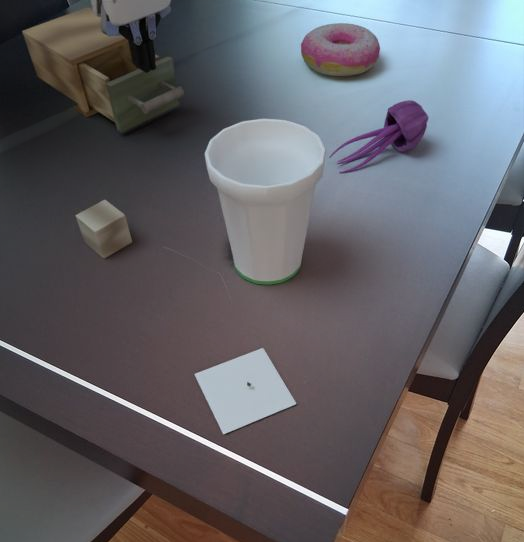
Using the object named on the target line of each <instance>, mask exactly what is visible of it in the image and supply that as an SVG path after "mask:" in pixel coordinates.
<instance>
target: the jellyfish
mask: <svg viewBox="0 0 524 542" xmlns="http://www.w3.org/2000/svg"><path fill="white" fill-rule="evenodd" d="M428 120H429V115H428V114H427V112H426V111H425V110H424V108H423V106H422V105H421V104H419V103H418V102H416V101H415V100H412V99H411V100H409V99H407V100H403V101H399V102H396V103H394V104H392V106H390V107H388V108H387V112H386V116H385V119H384V123H383V127H381V128H378V129H375V130H372V131H370V132H365V133H364V134H361V135H358V136H355V137H353V138H351V139H349V140H347V141H346V142H344V143H343V144H342V145H340V146H339V147H337V148H336V149H335V150H334V151H333V152H332V153H331V154H330V156H329V157H328V158H329V159H331V158H332V157H333V156H334V155H335V154H336V153H337V152H338V151H340V150H341V149H343V148H344V147H346V146H348V145H350V144H352V143H355V142H359V141H362V140H365V139H369V138H371V139H370V140H369V141H368V142H366V144H364V145H363V146H362V147H360V148H359V149H358V150H356V151H354V152H353V153H351V154H350V155H348V156H345V157H344V158H341V159H339V160H337V163H336V165H342V164H345V163H349V162H352V161H355V160H357V159H359V158H362V157H364V156H366V155H368V154H370V153H371V152H373V151H374V152H373V153H371V154H370V155H369V156H368V157H367V158H366V159H364V160H363V161H362V162H360V163H359V164H357V165H355V166H353V167H351V168H349V169H345V170H342V171H338V174H342V173H343V174H344V173H349V172H353V171H355V170H358V169H360V168H362V167H363V166H365V165H366V164H368V163H370V162H371V161H373V160H374V159H375V158H376V157H378V155H380V154H382V152H383V151H385V149H387V148H388V147H389V146H390V145H391V146H393V147H394V149H395V150H396V151H397V152H406V151H407V152H408V151H410V150H413V149H414V148H415V147H417V146H418V145H419V143H420V142H421V140H422V139H423V137H424V135H425V133H426V131H427V128H428Z"/></svg>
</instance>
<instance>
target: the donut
mask: <svg viewBox="0 0 524 542" xmlns="http://www.w3.org/2000/svg"><path fill="white" fill-rule="evenodd" d="M380 53H381V45H380V42H379V39H378V37H377V36H376V35H375V33H373V32H372V31H371V30H369V29H368V28H367V27H365V26H362V25H359V24H355V23H348V22H346V23H344V22H338V23H329V24H324V25H321V26H318V27H316V28H313V29H312V30H311V31H309V32H307V33H306V34H305V35H304V37H303V39H302V41H301V43H300V55H301V57H302V59H303V61H304V63H305V64H306V65H307V66H308V67H309V68H311V69H312V70H313V71H315V72H317V73H319V74H322V75H325V76H332V77H350V76H351V77H352V76H356V75H361V74H362V73H365V72H367V71H368V70H371V69H372V68H373V67H374V66H375V64H376V63H377V61H378V60H379V57H380Z"/></svg>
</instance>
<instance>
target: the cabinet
mask: <svg viewBox="0 0 524 542" xmlns="http://www.w3.org/2000/svg"><path fill="white" fill-rule="evenodd" d="M21 32H22V36H23V38H24V41H25V44H26V47H27V50H28V54H29V56H30V58H31V62H32V64H33V65H32V66H33V67H34V71H35V74H36V76H37V78H38V79H40V80H42V81H44V82H45V83H46V84H48V85H49V86H51V87H52V88H54V89H55V90H57V91H58V92H60V93H62V94H63V95H64V96H66V97H68V99H70V100H72V101H74V102H75V103H76V104H75V105H73V106H71V108H72V109H73V110H75V111H76V112H78V113H80V114H81V115H83V116H84V117H85V118H89V117H92V116H93V115H96V114H97V113H99V112H98V111H97V110H95V109H94V108H92V107H91V106H89V105H88V103H87V100H86V96H85V93H84V89H83V86H82V82H81V78H80V75H79V71H78V68H77V63H80V62H82V61H85V60H87V59H90V58H92V57H94V56H97V55H99V54H102V53H104V52H107V51H109V50H112V49H114V48H116V47H119V46H121V45H124V44H126V43H129V42H128V40H127V39H125V38H124V37H123V36H122V35H119V36H107V35H106V34H104V33H102V31H101V17H97V16H96V15H95V14H94V12H93V8H92V7H89V6H87V7H84V8H81V9H78V10H76V11H73V12H71V13H68V14H66V15H62V16H59V17H57V18H53V19H51V20H49V21H48V20H47V21H45V22H43V23H40V24H37V25H35V26H32V27H29V28H26V29H24V30H21Z"/></svg>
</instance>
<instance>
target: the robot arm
mask: <svg viewBox="0 0 524 542" xmlns="http://www.w3.org/2000/svg"><path fill="white" fill-rule="evenodd" d="M171 2H172V0H90V4H91V9H93V12H94V14H95V15H96V16H97V17H101V31H102V33H104V34H106V35H107V36H119V35H122V36H123V37H124V38H125V39H127V40H128V42H129V47H130V53H131V58H132V62H133V64H134V65H135V67H137V68H139V69H140V70H142V71H144V72H146V73H148V72H150V70H155V69H156V64H155V54H156V51H155V45H154V40H155V39H156V37H157V28H158V26H159V23H160V21H161V20H163V19H164V18H165V17H166V16H168V15H170V13H171V12H172V7H171Z"/></svg>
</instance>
